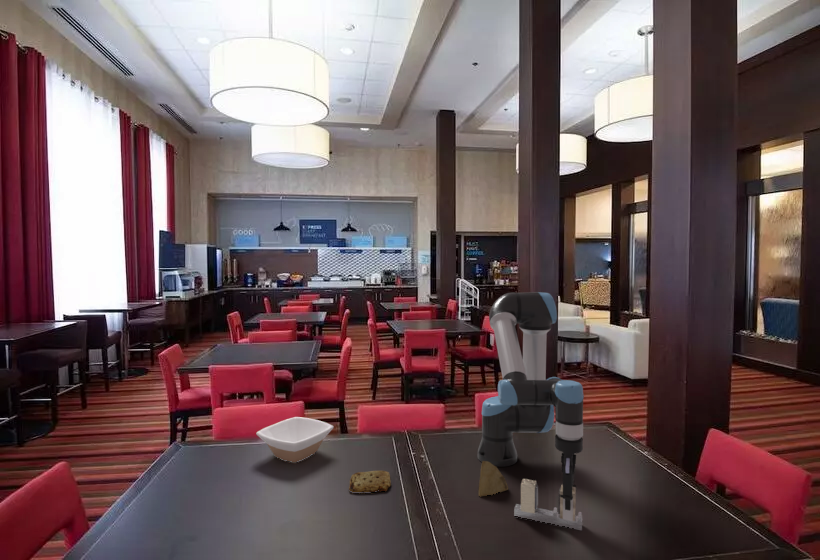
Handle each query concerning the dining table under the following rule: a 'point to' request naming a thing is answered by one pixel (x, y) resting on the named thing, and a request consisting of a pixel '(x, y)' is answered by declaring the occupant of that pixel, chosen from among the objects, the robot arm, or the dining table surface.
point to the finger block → (560, 502)
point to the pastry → (370, 481)
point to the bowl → (295, 437)
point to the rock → (491, 480)
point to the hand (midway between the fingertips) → (568, 514)
